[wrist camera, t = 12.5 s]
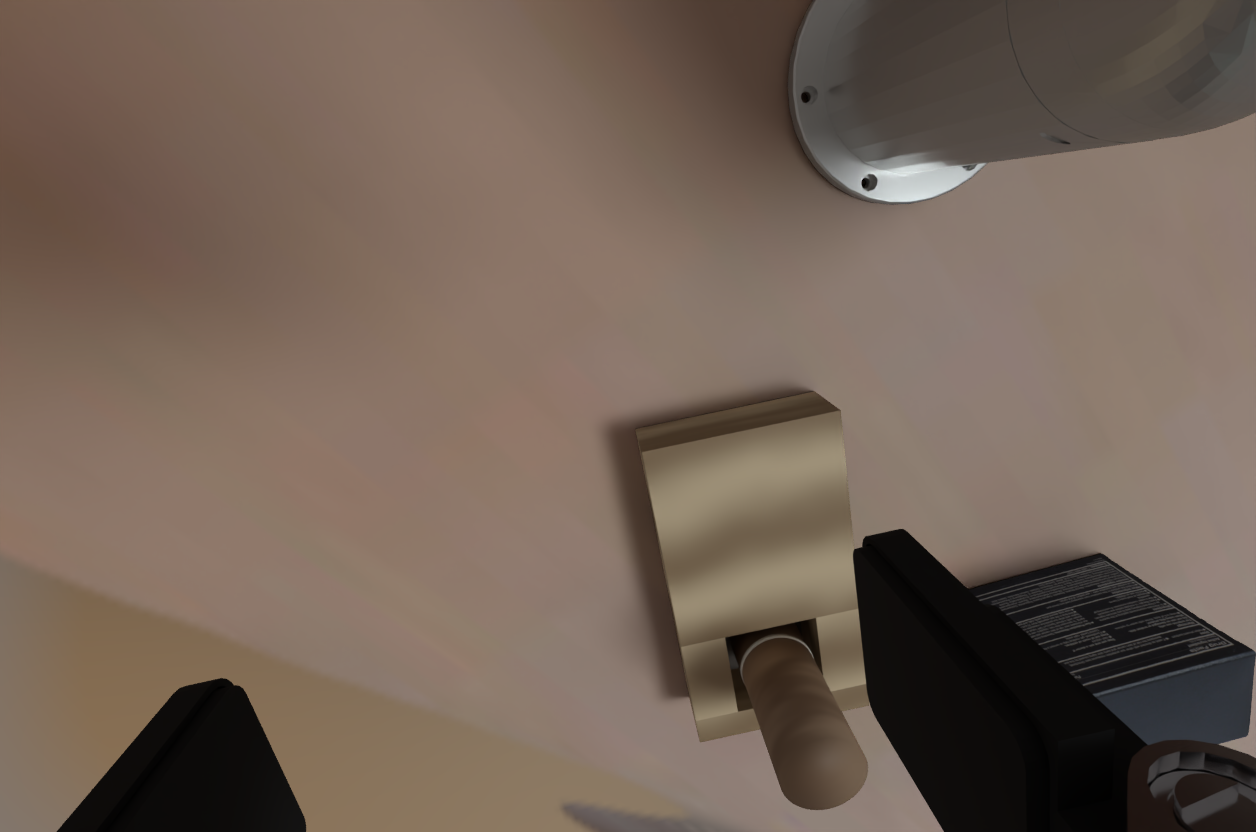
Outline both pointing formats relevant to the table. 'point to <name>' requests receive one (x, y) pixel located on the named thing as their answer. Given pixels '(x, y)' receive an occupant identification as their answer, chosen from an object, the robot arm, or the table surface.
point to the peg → (799, 719)
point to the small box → (1134, 649)
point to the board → (755, 546)
